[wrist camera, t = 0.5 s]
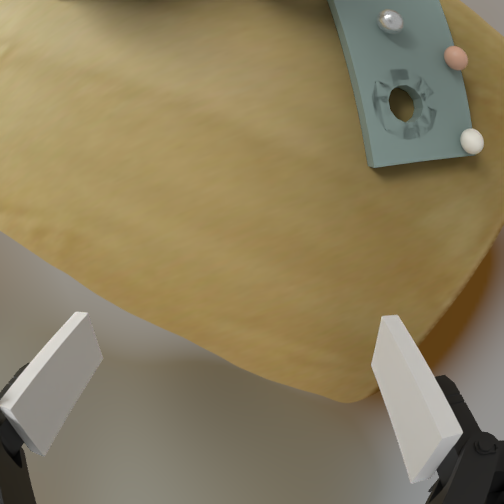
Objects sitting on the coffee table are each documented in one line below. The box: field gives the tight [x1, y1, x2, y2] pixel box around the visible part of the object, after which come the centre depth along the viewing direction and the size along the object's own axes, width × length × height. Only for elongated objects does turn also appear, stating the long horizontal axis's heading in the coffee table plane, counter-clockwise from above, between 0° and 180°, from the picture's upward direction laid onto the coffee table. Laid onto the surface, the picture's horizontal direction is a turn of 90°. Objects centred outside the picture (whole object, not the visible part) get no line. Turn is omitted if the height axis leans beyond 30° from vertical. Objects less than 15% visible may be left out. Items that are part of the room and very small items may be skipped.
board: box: [327, 0, 475, 168], centre depth 30 cm, size 22×15×2 cm
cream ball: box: [460, 128, 484, 154], centre depth 29 cm, size 3×3×3 cm
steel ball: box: [377, 9, 404, 34], centre depth 25 cm, size 3×3×3 cm
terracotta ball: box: [444, 46, 468, 70], centre depth 26 cm, size 3×3×3 cm
